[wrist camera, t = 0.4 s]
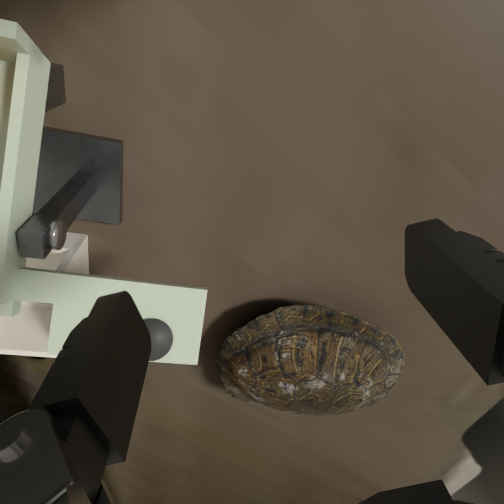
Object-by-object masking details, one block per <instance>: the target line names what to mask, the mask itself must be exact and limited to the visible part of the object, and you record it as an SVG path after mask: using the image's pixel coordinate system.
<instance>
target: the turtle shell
mask: <svg viewBox="0 0 504 504" xmlns="http://www.w3.org/2000/svg"><path fill="white" fill-rule="evenodd" d="M404 360H405V357H404V351H403V349H402V347H401V345H400V344H399V342H398V341H397V340H396V338H395V337H393V336H392V335H391V334H389V333H388V332H386V331H384V330H383V329H381V328H379V327H376V326H374V325H371V324H369V323H365V322H364V321H362V320H360V319H358V318H356V317H354V316H352V315H349V314H346V313H343V312H339V311H336V310H331V309H326V308H321V307H316V306H312V305H291V306H285V307H279V308H278V309H276V310H274V311H272V312H270V313H268V314H263V315H261V316H259V317H258V318H255V319H253V320H252V321H250V322H249V323H247V324H246V325H244V326H242V327H240V328H238V329H236V330H235V331H234V332H233V334H232V335H231V336H229V337H227V338H226V340H225V342H224V343H223V344H222V346H221V351H220V354H219V357H217V367H218V372H219V374H220V375H221V378H220V379H222V381H223V382H224V385H223V386H224V387H225V388H226V390H227V393H228V394H231V395H232V397H234V398H236V399H240V400H243V401H246V402H248V403H261V404H264V405H265V406H268V407H271V408H274V409H277V410H281V411H286V412H292V413H297V414H302V415H309V416H325V415H336V414H348V413H351V412H354V411H355V410H357V409H358V408H361V407H365V406H369V405H372V404H374V403H376V402H379V401H380V400H382V399H383V398H384V397H386V395H387V393H388V392H389V391H390V389H391V388H392V386H394V385H395V383H396V382H397V380H398V378H399V377H400V375H401V374H402V371H403V367H404Z"/></svg>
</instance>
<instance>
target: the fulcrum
mask: <svg viewBox="0 0 504 504" xmlns="http://www.w3.org/2000/svg"><path fill="white" fill-rule="evenodd" d="M63 103H65V88H64V73H63V65H59V64H54V63H51V65H50V73H49V81H48V89H47V97H46V106H45V112H46V111H48V110H51V109H53V108H55V107H57V106H59V105H61V104H63ZM122 180H123V141H122V140H116V139H111V138H105V137H100V136H94V135H89V134H83V133H78V132H72V131H67V130H61V129H56V128H50V127H45V126H43V130H42V138H41V146H40V154H39V162H38V170H37V179H36V187H35V195H34V203H33V211H32V213H36V214H35V215H34V216H33V217H32V218H31V219H30V220H29V221H28V222H27V223H26V224H25V225H24V226H23V227H22V228H21V229H20V230H19V231H18V232H17V233H18V239H19V245H20V251H21V257H27V258H36V259H44V260H45V258H46V257H47V256H48V254H49V253H50V252H51V250H52V249H53V250H61V249H62V247H63V246H64V243H65V240H66V234H67V229H68V228H69V227H70V225H71V224H72V223H73V221H74V220H75V219H79V220H87V221H94V222H101V223H108V224H115V225H120V224H121V222H122Z"/></svg>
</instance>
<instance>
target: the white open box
mask: <svg viewBox="0 0 504 504" xmlns="http://www.w3.org/2000/svg"><path fill="white" fill-rule="evenodd" d="M26 267H28V268H37V269H46V270H55V271H64V272H73V273H82V274H89V258H88V235H85V234H78V233H70V232H67V234H66V240H65V243H64V246H63V247H62V249H61V250H53V249H52V250H51V252H50V253H49V254H48V256H47V257H46V258H45V260H44V259H36V258H27V260H26ZM52 308H53V304H52V303H41V302H31V301H21V308H20V313H19V314H17V315H15V316H13V317H6V316H0V354H9V355H23V356H38V357H52V358H56V357H57V355H52V354H47V348H48V340H49V332H50V324H51V316H52Z"/></svg>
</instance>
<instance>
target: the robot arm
mask: <svg viewBox="0 0 504 504" xmlns="http://www.w3.org/2000/svg"><path fill="white" fill-rule="evenodd" d="M405 276H406V280H407V283H408V286H409V288H410V290H411V292H412V293H413V294H414V296H415V297H416V298H417V299H418V300H419V302H420V303H421V304H422V305H423V307H424V308H425V309H426V310H427V312H428V313H429V314H430V315H431V316H432V318H433V319H434V320H435V321H436V323H437V324H438V325H439V326H440V328H441V329H442V330H443V331H444V332H445V334H446V335H447V336H448V337H449V339H450V340H451V341H452V342H453V344H454V345H455V346H456V347H457V348H458V350H459V351H460V352H461V353H462V355H463V356H464V357H465V358H466V360H467V361H468V362H469V363H470V364H471V366H472V367H473V368H474V369H475V371H476V372H477V373H478V374H479V376H480V377H481V378H482V379H483V380H484V382H485V383H486V384H487V385H493V384H498V383H502V382H504V253H502V252H501V251H497V248H495V247H494V246H492V245H491V244H489V243H488V242H486V241H485V240H484V239H482V238H480V237H477V236H474V235H471V234H468V233H465V232H462V231H459V232H456V231H454V230H453V229H451V228H450V227H449V226H447V225H446V224H445V223H443V222H442V221H441V220H439V219H431V220H427V221H422V222H418V223H414V224H410V225H408V226H407V227H406V229H405ZM150 353H151V337H150V333H149V330H148V328H147V326H146V324H145V322H144V320H143V318H142V316H141V314H140V312H139V310H138V308H137V306H136V304H135V302H134V300H133V298H132V297H131V295H130V294H129V293H128V292H127V291H122V292H118V293H113V294H109V295H105V296H100V297H98V298H97V300H96V302H95V304H94V306H93V308H92V310H91V312H90V314H89V315H88V317H86V318H84V319H83V320H82V321H81V322H80V323H79V324H78V325H77V326H76V327H75V328H74V329H73V330H72V331H71V332H70V333H69V335H68V337H67V339H66V341H65V343H64V344H63V346H62V350H60V352H59V354H58V355H57V357H56V359H55V363H53V365H52V366H51V368H50V370H49V372H48V374H47V376H46V377H45V379H44V381H43V383H42V385H41V386H40V388H39V390H38V392H37V394H36V396H35V397H34V399H33V401H32V403H31V405H30V407H29V408H28V410H27V411H23V412H21V413H18V414H16V415H14V416H12V417H11V418H9V419H8V420H6V421H5V422H3V423H2V424H0V504H115V502H114V500H113V498H112V496H111V494H110V492H109V490H108V487H107V485H106V484H105V482H104V481H103V480H102V477H103V473H104V470H105V466H106V465H111V464H115V463H120V462H125V459H126V455H127V451H128V446H129V442H130V438H131V434H132V429H133V425H134V421H135V417H136V413H137V408H138V404H139V400H140V396H141V391H142V387H143V383H144V379H145V375H146V370H147V366H148V362H149V358H150ZM359 504H473V503H469V502H464V501H459V500H452V498H451V496H450V494H449V492H448V490H447V488H446V487H445V485H444V483H443V481H442V479H441V480H436V481H431V482H427V483H422V484H417V485H412V486H407V487H402V488H397V489H392V490H387V491H382V492H378V493H377V494H375V495H373V496H371V497H369V498H368V499H366V500H364V501H362V502H360V503H359Z"/></svg>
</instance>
